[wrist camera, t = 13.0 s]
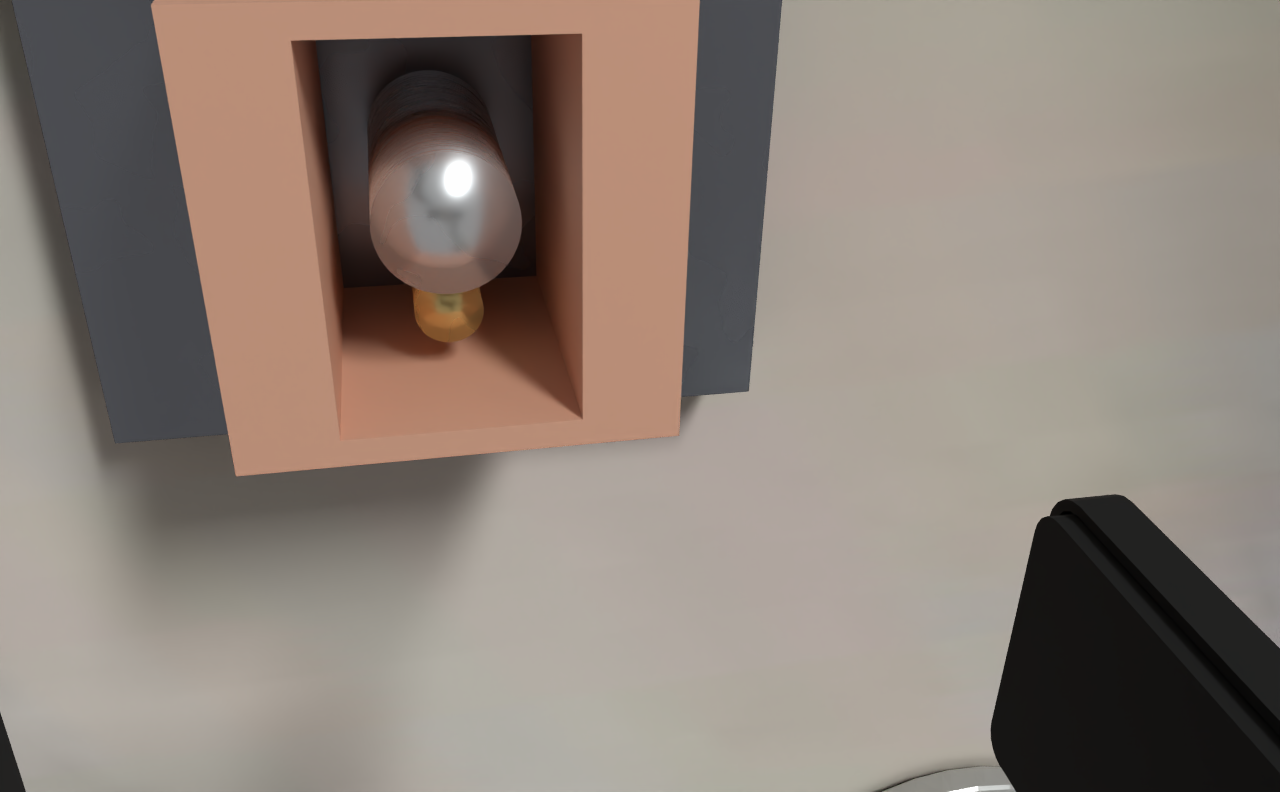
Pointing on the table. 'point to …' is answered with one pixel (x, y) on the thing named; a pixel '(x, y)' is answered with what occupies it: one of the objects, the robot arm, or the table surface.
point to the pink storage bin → (384, 315)
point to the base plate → (156, 220)
